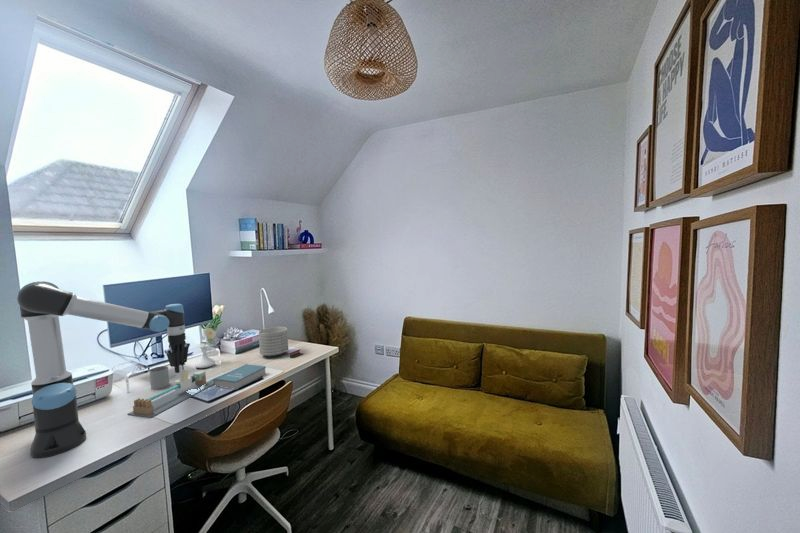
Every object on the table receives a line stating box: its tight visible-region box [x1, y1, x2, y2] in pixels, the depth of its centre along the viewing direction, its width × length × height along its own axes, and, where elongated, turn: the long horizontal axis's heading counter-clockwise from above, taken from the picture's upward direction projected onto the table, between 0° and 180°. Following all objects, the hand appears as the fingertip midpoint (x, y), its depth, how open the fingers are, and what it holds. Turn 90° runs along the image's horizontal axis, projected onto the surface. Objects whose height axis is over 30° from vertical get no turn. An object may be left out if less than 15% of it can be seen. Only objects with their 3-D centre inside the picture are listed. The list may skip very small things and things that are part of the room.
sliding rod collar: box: [174, 369, 192, 391], centre depth 170 cm, size 6×5×10 cm
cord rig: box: [127, 370, 214, 419], centre depth 165 cm, size 36×14×7 cm, turn 166°
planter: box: [258, 326, 289, 358], centre depth 229 cm, size 19×19×18 cm
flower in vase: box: [195, 327, 217, 369], centre depth 210 cm, size 13×11×25 cm
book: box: [212, 363, 267, 391], centre depth 187 cm, size 23×16×5 cm
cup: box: [149, 365, 170, 390], centre depth 181 cm, size 8×8×10 cm
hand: (179, 377), depth 168 cm, fingers closed
